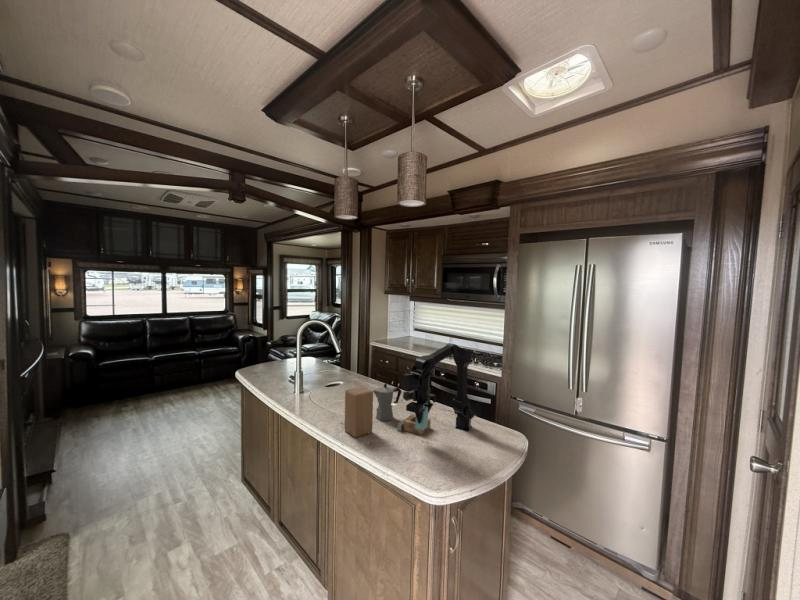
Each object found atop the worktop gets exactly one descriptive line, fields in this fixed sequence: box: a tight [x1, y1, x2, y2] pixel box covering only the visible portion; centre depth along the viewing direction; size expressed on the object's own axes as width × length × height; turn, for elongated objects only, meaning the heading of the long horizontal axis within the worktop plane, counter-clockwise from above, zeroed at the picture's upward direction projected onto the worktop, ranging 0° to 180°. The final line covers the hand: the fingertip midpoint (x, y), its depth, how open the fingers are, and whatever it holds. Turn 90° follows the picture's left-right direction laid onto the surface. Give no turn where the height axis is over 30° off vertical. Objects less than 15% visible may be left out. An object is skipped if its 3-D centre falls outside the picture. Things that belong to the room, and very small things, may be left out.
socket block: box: [403, 413, 432, 436], centre depth 154 cm, size 10×10×4 cm
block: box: [344, 385, 374, 438], centre depth 150 cm, size 10×10×20 cm
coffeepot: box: [372, 383, 402, 422], centre depth 167 cm, size 15×9×18 cm, turn 107°
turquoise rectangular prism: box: [415, 406, 429, 430], centre depth 140 cm, size 4×4×9 cm
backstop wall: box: [397, 414, 413, 433], centre depth 157 cm, size 2×14×4 cm, turn 149°
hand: (421, 421), depth 140 cm, fingers closed on turquoise rectangular prism, 4 cm apart
